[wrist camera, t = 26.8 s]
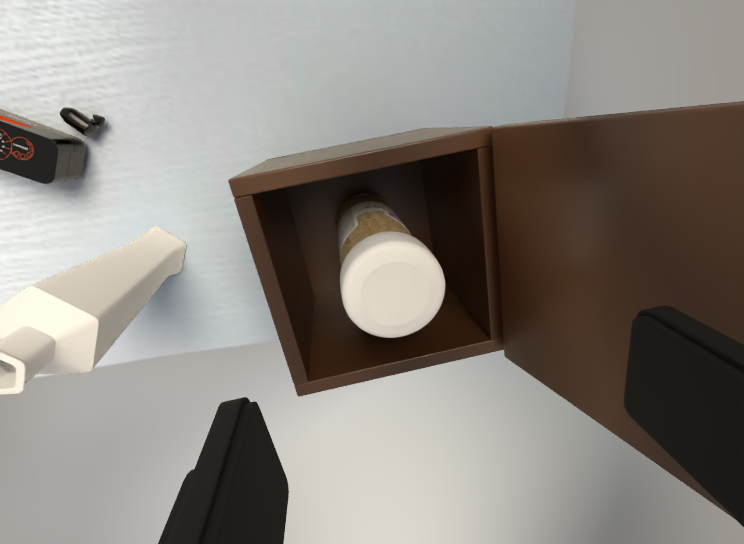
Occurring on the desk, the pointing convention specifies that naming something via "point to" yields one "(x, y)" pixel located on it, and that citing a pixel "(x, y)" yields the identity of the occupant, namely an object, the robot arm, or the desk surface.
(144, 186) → the desk surface
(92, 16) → the desk surface
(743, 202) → the lid
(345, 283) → the sprinkles bottle
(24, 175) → the wireless earbuds
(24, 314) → the white faceted vase
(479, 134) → the chest
